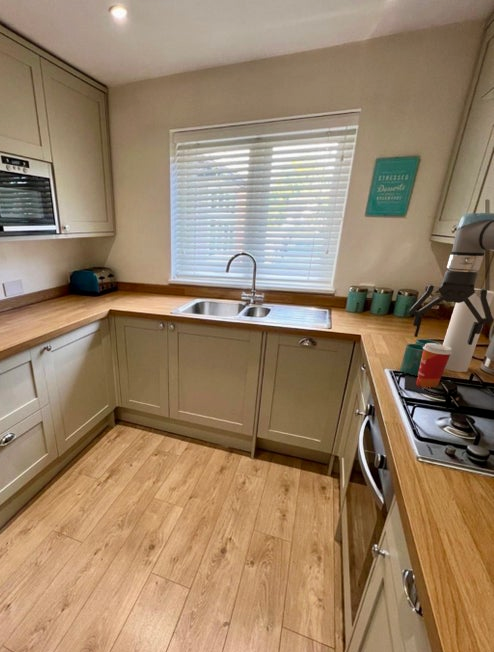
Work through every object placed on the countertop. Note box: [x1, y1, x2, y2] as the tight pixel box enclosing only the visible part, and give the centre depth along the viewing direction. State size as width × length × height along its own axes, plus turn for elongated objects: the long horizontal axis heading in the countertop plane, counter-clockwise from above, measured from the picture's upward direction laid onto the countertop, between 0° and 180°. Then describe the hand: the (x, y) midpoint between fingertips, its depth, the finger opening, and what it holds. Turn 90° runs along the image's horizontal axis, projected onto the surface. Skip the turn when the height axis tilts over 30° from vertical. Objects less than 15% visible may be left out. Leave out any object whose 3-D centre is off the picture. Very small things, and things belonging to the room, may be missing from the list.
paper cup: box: [416, 343, 452, 388], centre depth 107 cm, size 8×8×14 cm
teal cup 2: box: [414, 338, 441, 346], centre depth 125 cm, size 7×7×10 cm
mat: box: [403, 375, 440, 397], centre depth 110 cm, size 12×12×1 cm
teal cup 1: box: [399, 343, 424, 376], centre depth 119 cm, size 7×7×10 cm
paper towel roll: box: [442, 288, 494, 373], centre depth 122 cm, size 9×9×30 cm
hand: (441, 339), depth 104 cm, fingers open, 13 cm apart
